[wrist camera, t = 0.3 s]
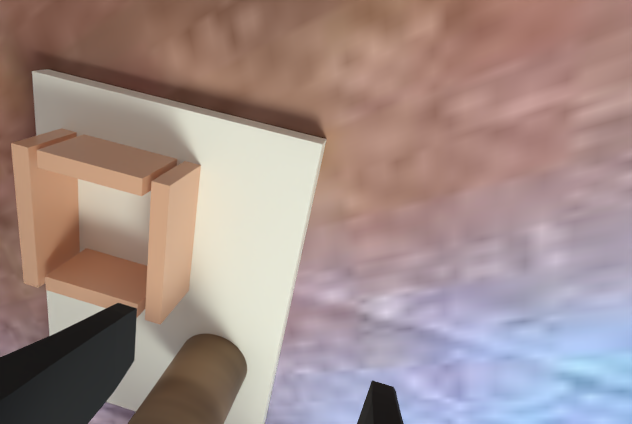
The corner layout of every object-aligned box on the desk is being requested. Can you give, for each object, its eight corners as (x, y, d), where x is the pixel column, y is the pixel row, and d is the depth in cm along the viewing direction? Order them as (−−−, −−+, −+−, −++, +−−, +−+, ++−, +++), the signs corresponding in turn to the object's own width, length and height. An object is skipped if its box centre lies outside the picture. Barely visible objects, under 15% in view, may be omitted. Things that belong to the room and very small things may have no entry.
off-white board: (261, 437, 28) (256, 450, 27) (63, 373, 30) (52, 384, 29) (326, 139, 20) (322, 144, 19) (47, 69, 21) (32, 71, 21)
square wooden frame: (188, 290, 24) (160, 324, 21) (66, 254, 24) (23, 283, 22) (201, 164, 21) (169, 186, 18) (61, 128, 21) (11, 143, 19)
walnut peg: (242, 397, 26) (188, 517, 20) (179, 377, 26) (106, 488, 20) (251, 345, 24) (196, 458, 18) (183, 325, 25) (106, 428, 18)
